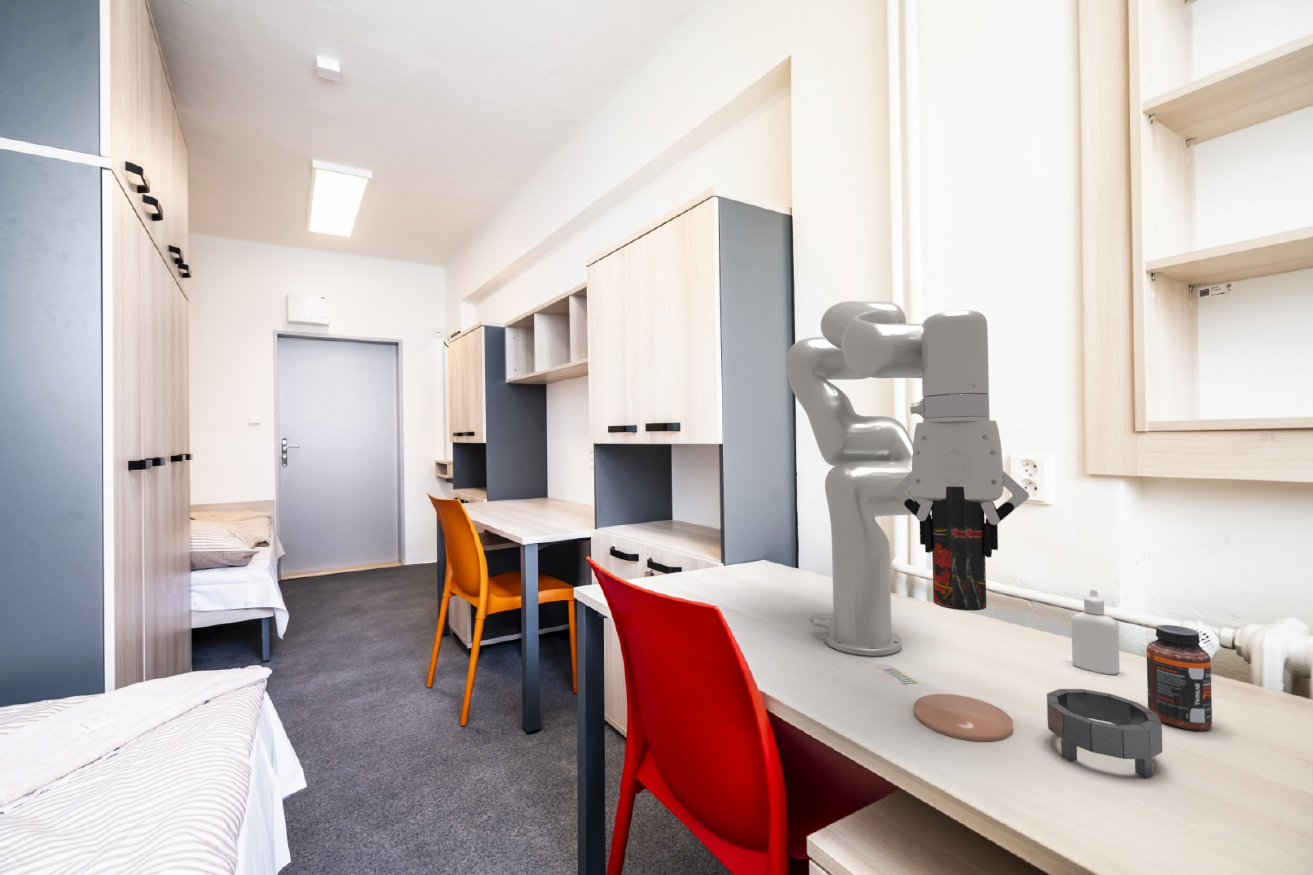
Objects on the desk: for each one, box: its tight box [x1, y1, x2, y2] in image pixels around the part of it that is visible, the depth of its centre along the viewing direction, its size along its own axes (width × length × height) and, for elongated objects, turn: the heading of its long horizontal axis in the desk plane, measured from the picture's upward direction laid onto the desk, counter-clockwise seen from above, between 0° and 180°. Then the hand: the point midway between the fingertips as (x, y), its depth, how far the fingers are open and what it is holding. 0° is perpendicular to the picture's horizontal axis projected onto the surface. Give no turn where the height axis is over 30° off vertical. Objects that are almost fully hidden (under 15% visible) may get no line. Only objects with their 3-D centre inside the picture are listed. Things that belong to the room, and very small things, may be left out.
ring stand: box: [1046, 688, 1163, 779], centre depth 65 cm, size 10×10×5 cm
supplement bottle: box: [1146, 624, 1213, 731], centre depth 72 cm, size 6×6×11 cm
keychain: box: [874, 664, 922, 686], centre depth 86 cm, size 10×1×3 cm
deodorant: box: [931, 487, 987, 612], centre depth 73 cm, size 6×6×15 cm
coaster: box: [913, 693, 1014, 743], centre depth 73 cm, size 11×11×1 cm
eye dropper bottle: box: [1071, 588, 1120, 675], centre depth 89 cm, size 4×6×12 cm
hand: (958, 551), depth 73 cm, fingers closed on deodorant, 6 cm apart
